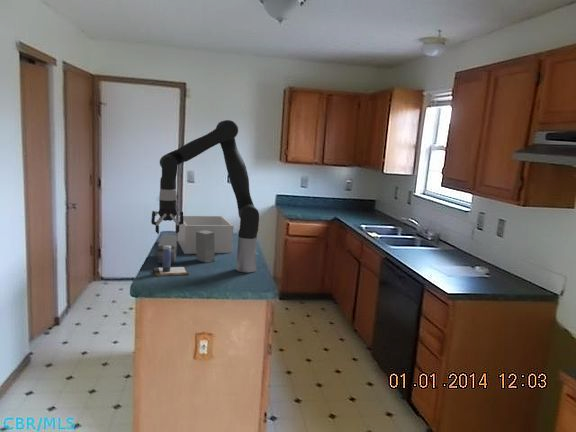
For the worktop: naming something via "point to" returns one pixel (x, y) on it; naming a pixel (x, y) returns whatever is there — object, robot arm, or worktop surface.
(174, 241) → the grey curved block
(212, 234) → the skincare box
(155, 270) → the clipboard
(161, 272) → the paper
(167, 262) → the marker
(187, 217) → the storage bin
